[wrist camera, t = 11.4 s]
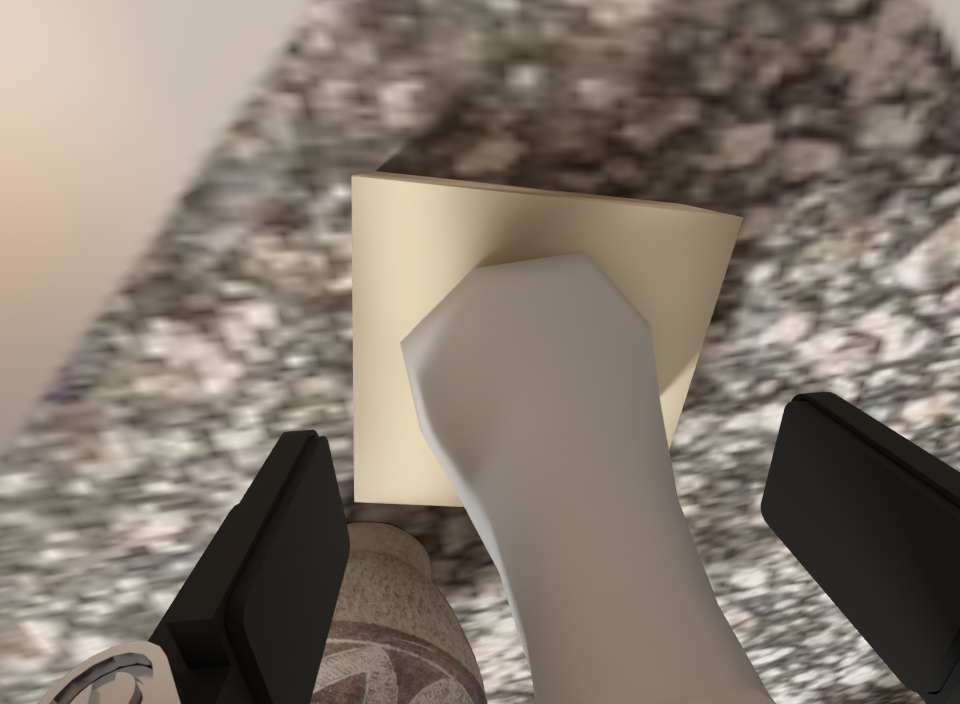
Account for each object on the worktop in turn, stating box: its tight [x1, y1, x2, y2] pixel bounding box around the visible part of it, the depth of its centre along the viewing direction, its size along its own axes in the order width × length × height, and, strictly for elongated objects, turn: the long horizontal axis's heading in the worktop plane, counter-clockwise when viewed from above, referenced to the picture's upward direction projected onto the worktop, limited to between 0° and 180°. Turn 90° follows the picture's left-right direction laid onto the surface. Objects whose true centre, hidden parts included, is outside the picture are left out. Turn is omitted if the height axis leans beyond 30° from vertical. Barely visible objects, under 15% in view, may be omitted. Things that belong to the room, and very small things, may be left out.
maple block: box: [352, 171, 744, 507], centre depth 15 cm, size 10×10×4 cm
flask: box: [400, 251, 776, 704], centre depth 9 cm, size 7×7×10 cm
